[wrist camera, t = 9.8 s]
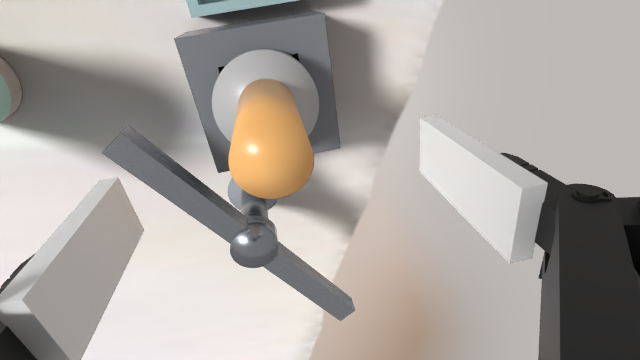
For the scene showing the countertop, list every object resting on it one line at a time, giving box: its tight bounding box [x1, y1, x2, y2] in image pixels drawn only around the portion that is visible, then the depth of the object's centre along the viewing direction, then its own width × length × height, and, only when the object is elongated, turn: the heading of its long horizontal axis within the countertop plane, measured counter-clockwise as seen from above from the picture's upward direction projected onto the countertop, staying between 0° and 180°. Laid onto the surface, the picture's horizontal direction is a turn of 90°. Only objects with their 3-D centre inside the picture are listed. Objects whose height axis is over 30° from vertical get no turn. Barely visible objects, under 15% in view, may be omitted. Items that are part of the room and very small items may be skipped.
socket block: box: [174, 11, 341, 210], centre depth 29 cm, size 18×11×5 cm, turn 8°
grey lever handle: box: [102, 125, 355, 321], centre depth 30 cm, size 24×4×9 cm, turn 40°
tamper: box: [212, 48, 319, 199], centre depth 22 cm, size 7×7×15 cm
